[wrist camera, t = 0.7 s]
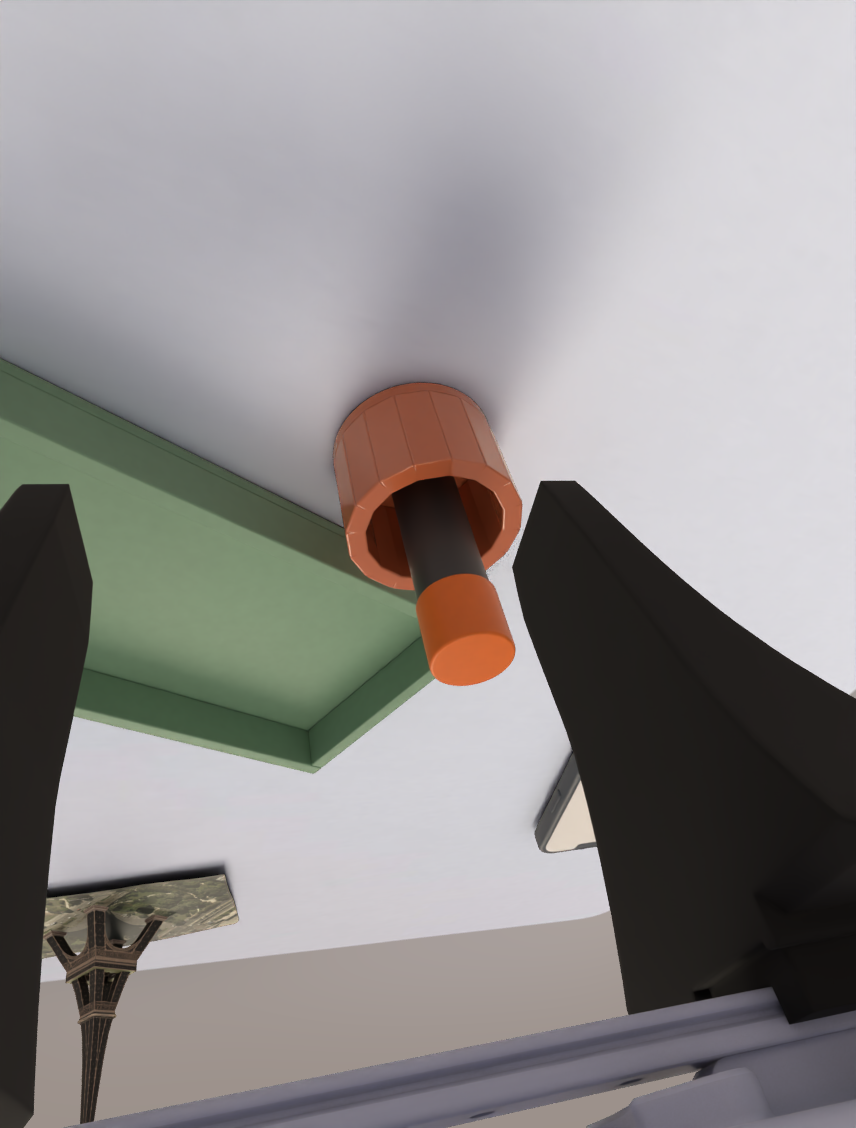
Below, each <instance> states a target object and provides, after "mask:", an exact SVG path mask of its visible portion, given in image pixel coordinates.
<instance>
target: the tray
mask: <svg viewBox="0 0 856 1128" xmlns="http://www.w3.org/2000/svg"><path fill="white" fill-rule="evenodd" d="M22 484H69V486H70V490H71V494H72V498H73V502H74V506H75V511H76V515H77V519H78V523H79V527H80V531H81V535H82V539H83V543H84V547H85V551H86V555H87V559H88V564H89V568H90V572H91V576H92V580H93V591H92V606H91V620H90V632H89V643H88V648H87V653H86V658H85V663H84V668H83V673H82V678H81V682H80V687H79V692H78V697H77V701H76V706H75V711H74V715H73V716H75V717H79V718H83V719H87V720H91V721H95V722H100V723H104V724H108V725H112V726H116V727H120V728H125V729H129V730H133V731H137V732H141V733H145V734H150V735H154V736H158V737H162V738H166V739H170V740H175V741H179V742H183V743H187V744H191V745H195V746H200V747H204V748H208V749H212V750H216V751H220V752H225V753H229V754H233V755H237V756H241V757H246V758H250V759H254V760H258V761H262V762H266V763H271V764H275V765H279V766H283V767H287V768H291V769H296V770H300V771H304V772H308V773H312V774H314V773H316V772H317V771H318V770H319V769H321V767H323V766H324V765H326V764H327V763H328V762H329V761H331V760H332V759H333V758H335V757H336V756H337V755H338V754H340V753H341V752H342V751H343V750H345V749H346V748H347V747H349V746H350V745H351V744H352V743H354V742H355V741H356V740H357V739H359V738H360V737H361V736H363V735H364V734H365V733H366V732H368V731H369V730H370V729H371V728H373V727H374V726H375V725H376V724H378V723H379V722H380V721H382V720H383V719H384V718H385V717H387V716H388V715H389V714H390V713H392V712H393V711H394V710H396V709H397V708H398V707H399V706H401V705H402V704H403V703H404V702H406V701H407V700H408V699H409V698H411V697H412V696H413V695H415V694H416V693H417V692H418V691H420V690H421V689H422V688H423V687H425V686H426V685H427V684H429V683H430V682H431V681H432V680H434V679H435V677H434V676H433V675H432V673H431V671H430V668H429V664H428V660H427V656H426V652H425V647H424V643H423V639H422V635H421V631H420V626H419V622H418V618H417V614H416V604H417V598H416V593H415V591H412V590H402V589H394V588H390V587H388V586H385V585H383V584H381V583H379V582H377V581H374V580H372V579H370V578H368V577H367V576H365V575H364V574H363V572H362V571H361V570H360V569H359V568H358V567H357V565H356V564H355V563H354V562H353V561H352V560H351V558H350V556H349V554H348V548H347V542H346V536H345V530H344V529H343V528H341V527H339V526H337V525H335V524H333V523H331V522H329V521H327V520H325V519H323V518H321V517H319V516H317V515H315V514H313V513H311V512H309V511H307V510H305V509H303V508H301V507H299V506H297V505H295V504H293V503H291V502H289V501H287V500H285V499H283V498H281V497H279V496H277V495H275V494H273V493H271V492H269V491H267V490H265V489H263V488H261V487H259V486H257V485H255V484H253V483H251V482H249V481H247V480H245V479H243V478H241V477H239V476H236V475H234V474H232V473H230V472H228V471H226V470H224V469H222V468H220V467H218V466H216V465H214V464H212V463H210V462H208V461H206V460H204V459H202V458H200V457H198V456H196V455H194V454H192V453H190V452H188V451H186V450H184V449H182V448H180V447H178V446H176V445H174V444H172V443H170V442H168V441H166V440H164V439H162V438H160V437H158V436H156V435H154V434H152V433H150V432H148V431H146V430H144V429H142V428H140V427H138V426H136V425H134V424H132V423H130V422H128V421H126V420H124V419H122V418H120V417H118V416H115V415H113V414H111V413H109V412H107V411H105V410H103V409H101V408H99V407H97V406H95V405H93V404H91V403H89V402H87V401H85V400H83V399H81V398H79V397H77V396H75V395H73V394H71V393H69V392H67V391H65V390H63V389H61V388H59V387H57V386H55V385H53V384H51V383H49V382H47V381H45V380H43V379H41V378H39V377H37V376H35V375H33V374H31V373H29V372H27V371H25V370H23V369H21V368H19V367H17V366H15V365H13V364H11V363H9V362H7V361H5V360H3V359H1V358H0V510H1V508H2V507H3V506H4V504H5V503H6V502H7V500H8V499H9V498H10V497H11V495H12V494H13V493H14V491H15V490H16V489H17V488H18V487H20V486H21V485H22Z"/></svg>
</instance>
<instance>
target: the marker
mask: <svg viewBox="0 0 856 1128" xmlns="http://www.w3.org/2000/svg"><path fill="white" fill-rule="evenodd" d="M392 498H393V502H394V507H395V511H396V515H397V519H398V523H399V527H400V531H401V536H402V540H403V544H404V548H405V552H406V556H407V560H408V565H409V569H410V573H411V577H412V581H413V585H414V589H415V593H416V598H417V604H416V614H417V618H418V622H419V626H420V631H421V635H422V639H423V643H424V647H425V652H426V656H427V660H428V664H429V668H430V671H431V673H432V675H433V676H434V677H435V678H436V679H437V680H439V681H440V682H442V683H445V684H448V685H455V686H466V685H473V684H478V683H481V682H484V681H487V680H489V679H491V678H494V677H495V676H497V675H499V674H500V673H502V672H503V671H504V670H505V669H506V668H507V667H508V666H509V665H510V664H511V662H512V661H513V659H514V656H515V644H514V641H513V638H512V635H511V632H510V630H509V627H508V624H507V621H506V618H505V615H504V612H503V609H502V606H501V603H500V600H499V597H498V594H497V592H496V589H495V587H494V585H493V584H492V583H491V582H490V581H489V580H488V577H487V574H486V571H485V568H484V565H483V562H482V559H481V556H480V553H479V550H478V547H477V544H476V541H475V538H474V535H473V532H472V529H471V526H470V523H469V520H468V517H467V514H466V511H465V508H464V506H463V503H462V500H461V497H460V494H459V491H458V488H457V485H456V482H455V479H454V477H453V476H444V477H437V478H431V479H424V480H418V481H416V482H414V483H412V484H410V485H408V486H406V487H404V488H402V489H400V490H398V491H396V492H394V493H392Z"/></svg>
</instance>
